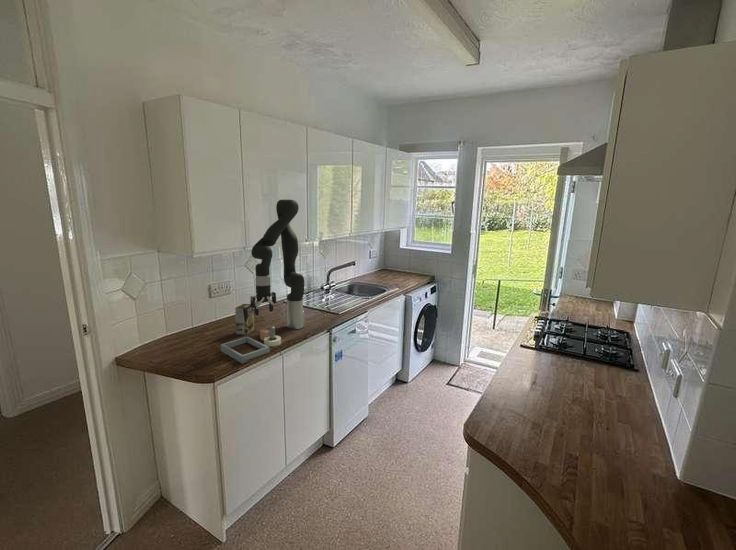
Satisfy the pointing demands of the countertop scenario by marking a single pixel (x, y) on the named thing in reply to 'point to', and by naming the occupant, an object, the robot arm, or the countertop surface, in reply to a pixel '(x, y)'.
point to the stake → (272, 334)
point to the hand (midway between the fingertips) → (264, 313)
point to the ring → (266, 338)
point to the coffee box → (244, 319)
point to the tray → (244, 358)
